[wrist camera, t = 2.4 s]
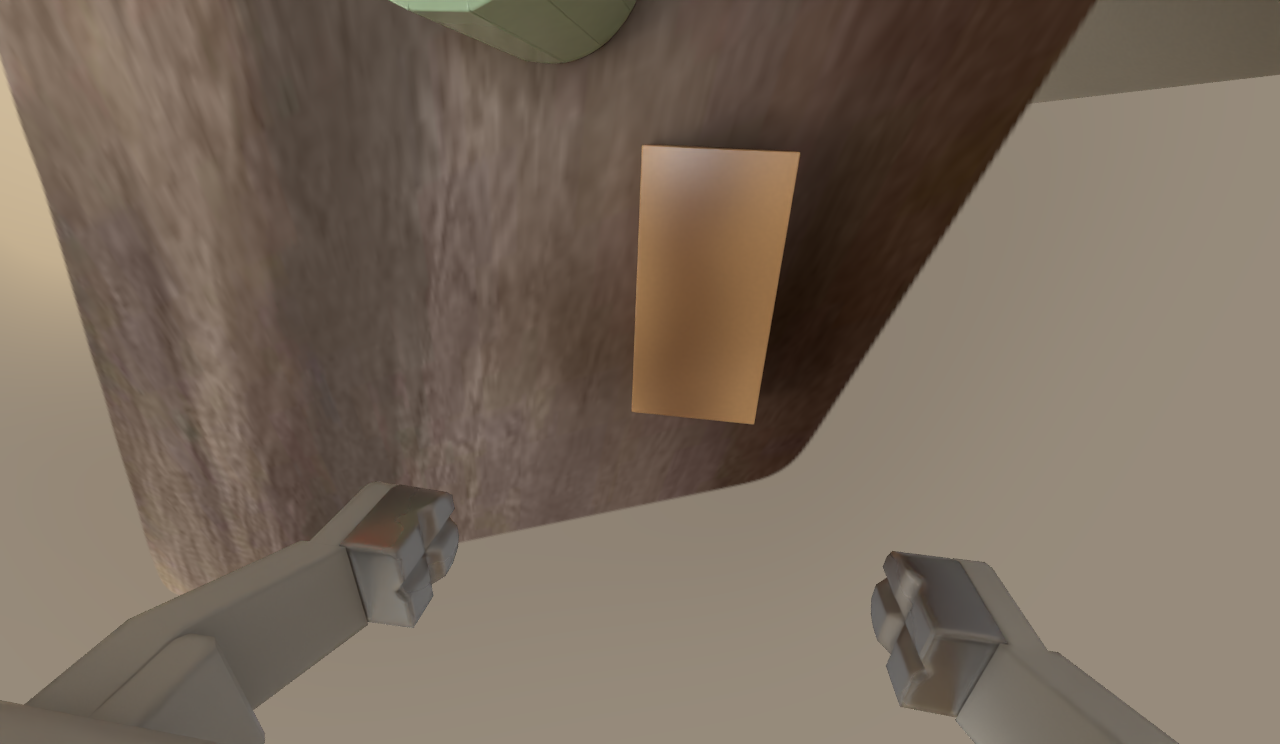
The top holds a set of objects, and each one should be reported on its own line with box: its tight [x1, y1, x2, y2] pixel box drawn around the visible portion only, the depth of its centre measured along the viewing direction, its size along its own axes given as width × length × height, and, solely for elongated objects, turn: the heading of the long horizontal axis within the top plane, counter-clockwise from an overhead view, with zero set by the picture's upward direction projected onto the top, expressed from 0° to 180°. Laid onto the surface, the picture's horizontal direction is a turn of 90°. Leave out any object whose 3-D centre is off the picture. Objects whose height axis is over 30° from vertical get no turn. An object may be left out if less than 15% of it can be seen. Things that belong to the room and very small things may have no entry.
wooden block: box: [632, 144, 800, 424], centre depth 24 cm, size 6×13×3 cm, turn 177°
